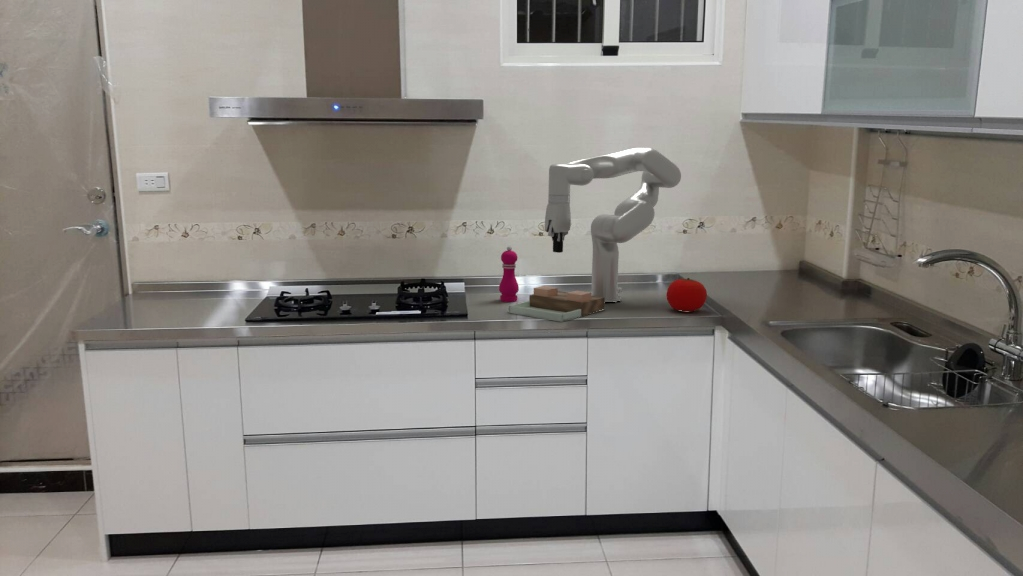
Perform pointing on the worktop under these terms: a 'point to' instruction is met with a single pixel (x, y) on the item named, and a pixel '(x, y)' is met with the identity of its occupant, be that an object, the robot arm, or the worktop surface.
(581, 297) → the tile
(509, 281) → the pepper mill
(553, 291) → the tile
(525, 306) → the tray
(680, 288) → the tomato
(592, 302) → the board
